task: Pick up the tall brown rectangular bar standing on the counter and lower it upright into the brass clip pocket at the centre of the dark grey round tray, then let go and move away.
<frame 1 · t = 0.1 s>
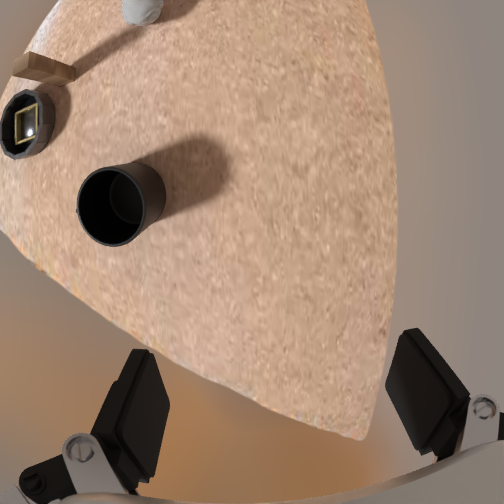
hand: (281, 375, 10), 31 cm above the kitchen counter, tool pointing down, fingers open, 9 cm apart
brown rectangular bar: (67, 77, 31), on the kitchen counter
frog figurine: (149, 16, 29), on the kitchen counter
mug: (128, 196, 38), on the kitchen counter
dark grey round tray: (31, 124, 33), on the kitchen counter
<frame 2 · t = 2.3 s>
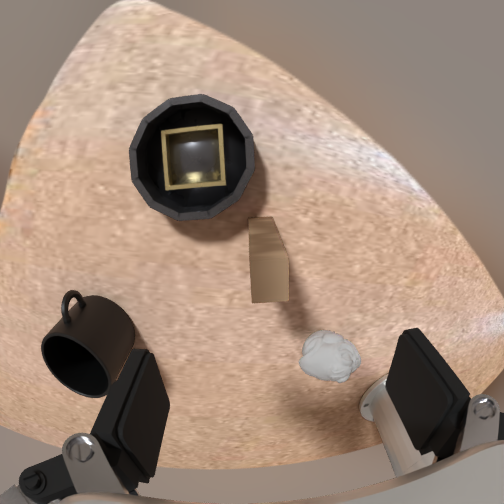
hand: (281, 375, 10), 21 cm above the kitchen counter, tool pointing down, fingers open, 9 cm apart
brown rectangular bar: (260, 231, 29), on the kitchen counter
frog figurine: (320, 337, 34), on the kitchen counter
mug: (101, 316, 33), on the kitchen counter
dark grey round tray: (195, 156, 27), on the kitchen counter
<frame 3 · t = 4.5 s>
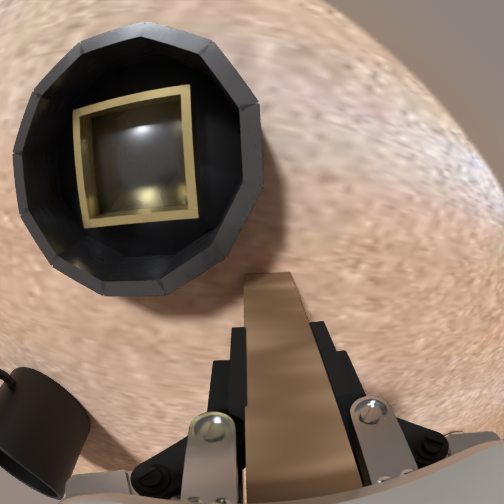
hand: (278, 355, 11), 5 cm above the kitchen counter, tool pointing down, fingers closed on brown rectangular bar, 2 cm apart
brown rectangular bar: (267, 298, 15), on the kitchen counter, touching gripper
mug: (44, 391, 19), on the kitchen counter
dark grey round tray: (141, 157, 13), on the kitchen counter
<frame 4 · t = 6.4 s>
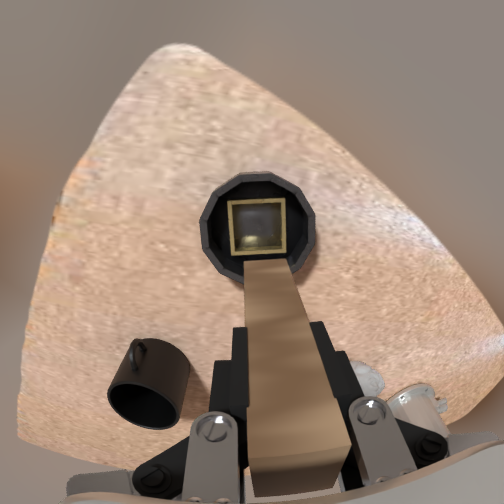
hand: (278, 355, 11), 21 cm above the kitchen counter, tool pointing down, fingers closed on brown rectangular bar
brown rectangular bar: (265, 283, 17), point 15 cm above the kitchen counter, touching gripper
frog figurine: (350, 365, 39), on the kitchen counter
mug: (156, 355, 37), on the kitchen counter
dark grey round tray: (257, 223, 31), on the kitchen counter
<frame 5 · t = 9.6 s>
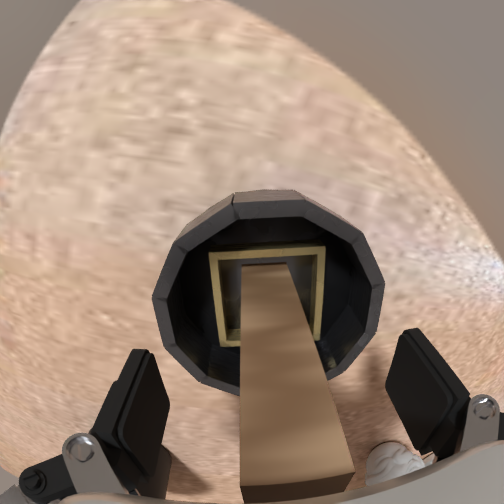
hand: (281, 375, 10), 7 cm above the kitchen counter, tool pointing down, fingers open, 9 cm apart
brown rectangular bar: (264, 287, 16), point 1 cm above the kitchen counter, touching dark grey round tray
frog figurine: (383, 444, 24), on the kitchen counter
mug: (125, 440, 23), on the kitchen counter
dark grey round tray: (267, 287, 17), on the kitchen counter
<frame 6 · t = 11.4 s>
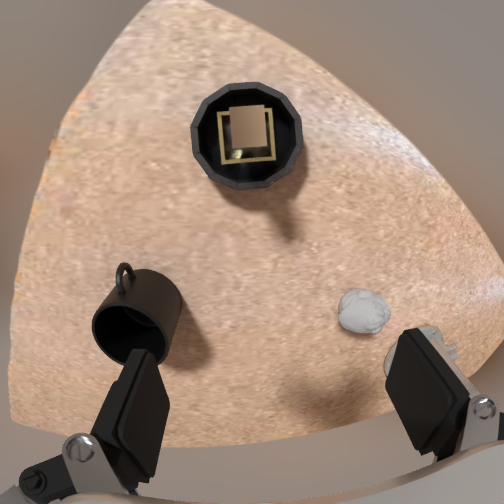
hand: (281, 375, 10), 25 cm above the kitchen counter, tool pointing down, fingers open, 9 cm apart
brown rectangular bar: (244, 134, 30), resting on dark grey round tray
frog figurine: (351, 297, 38), on the kitchen counter
mug: (146, 290, 37), on the kitchen counter
dark grey round tray: (246, 136, 30), on the kitchen counter
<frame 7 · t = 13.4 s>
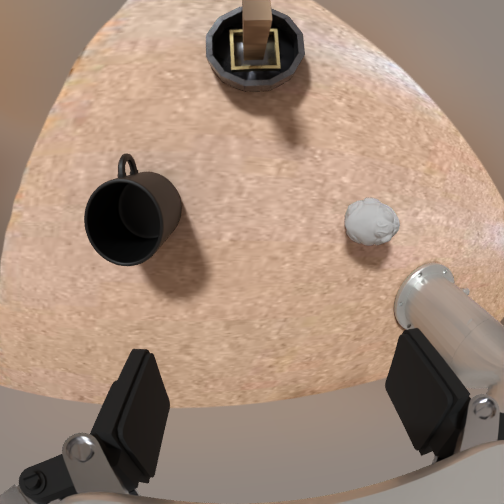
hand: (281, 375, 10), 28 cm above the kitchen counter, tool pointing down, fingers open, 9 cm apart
brown rectangular bar: (253, 49, 29), resting on dark grey round tray
frog figurine: (357, 215, 37), on the kitchen counter
mug: (146, 197, 36), on the kitchen counter
dark grey round tray: (254, 52, 29), on the kitchen counter
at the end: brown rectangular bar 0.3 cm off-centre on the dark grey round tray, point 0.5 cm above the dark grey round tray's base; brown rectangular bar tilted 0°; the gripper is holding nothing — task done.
